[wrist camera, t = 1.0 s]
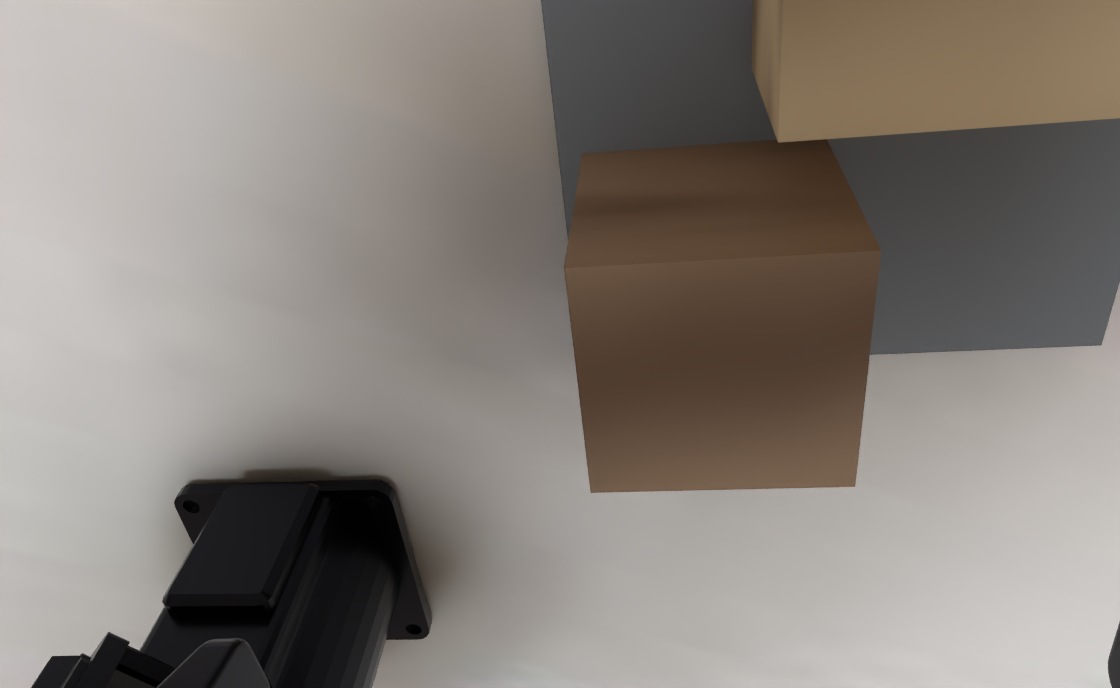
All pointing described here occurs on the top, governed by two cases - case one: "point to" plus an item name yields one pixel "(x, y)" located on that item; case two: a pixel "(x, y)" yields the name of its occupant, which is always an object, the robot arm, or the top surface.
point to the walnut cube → (720, 316)
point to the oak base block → (933, 64)
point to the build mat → (867, 177)
